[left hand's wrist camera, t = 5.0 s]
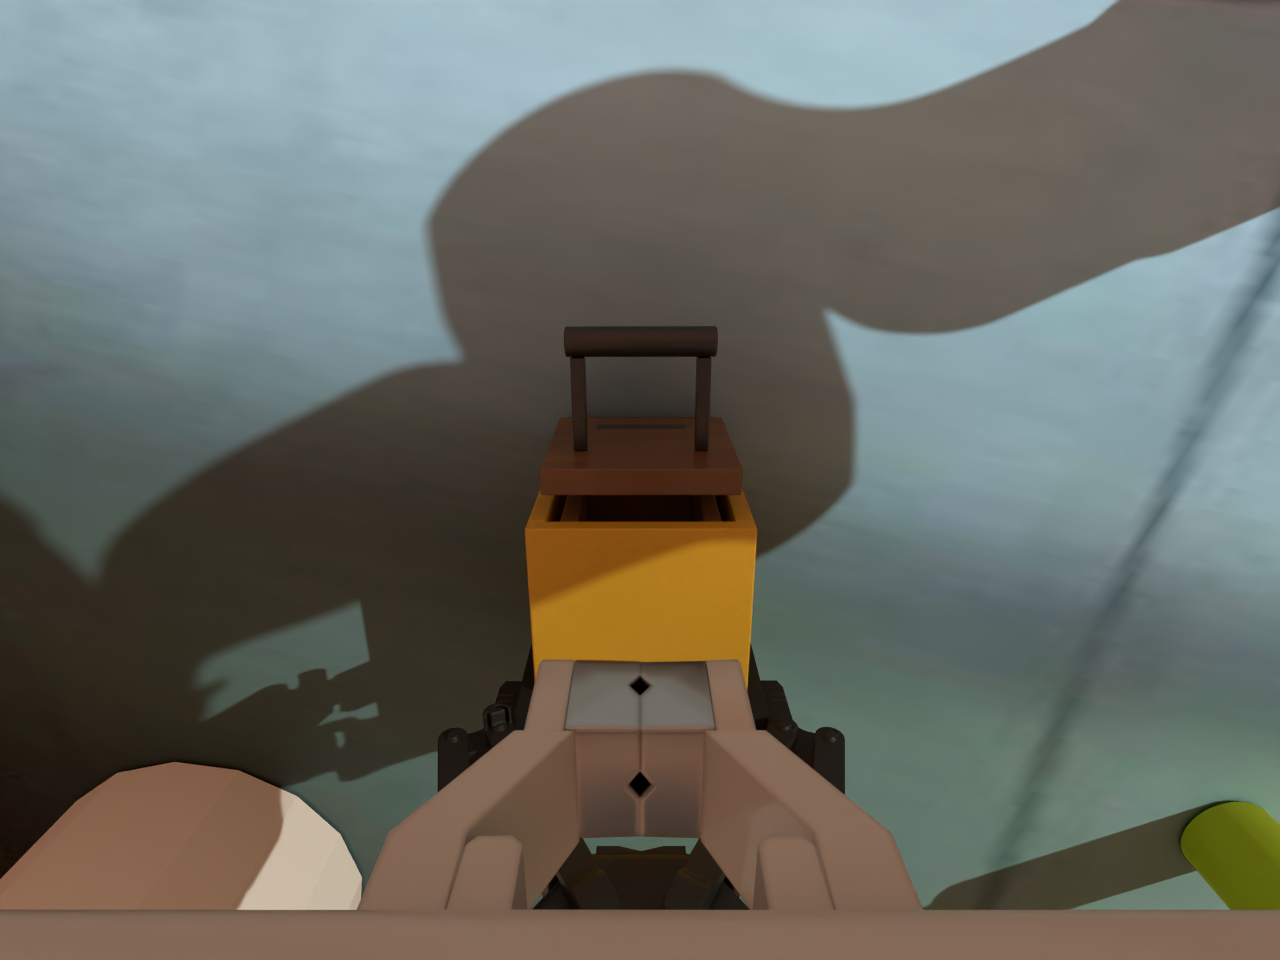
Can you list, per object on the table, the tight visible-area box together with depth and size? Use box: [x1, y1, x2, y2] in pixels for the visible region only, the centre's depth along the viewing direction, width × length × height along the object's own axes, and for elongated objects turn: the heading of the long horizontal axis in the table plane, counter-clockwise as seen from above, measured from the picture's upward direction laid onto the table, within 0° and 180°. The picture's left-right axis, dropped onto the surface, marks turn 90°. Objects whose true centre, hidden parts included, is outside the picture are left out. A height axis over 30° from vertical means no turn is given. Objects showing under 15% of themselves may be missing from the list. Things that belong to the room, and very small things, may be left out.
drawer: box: [539, 326, 743, 522], centre depth 34 cm, size 19×8×8 cm, turn 0°
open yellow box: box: [525, 490, 757, 689], centre depth 36 cm, size 14×10×10 cm
